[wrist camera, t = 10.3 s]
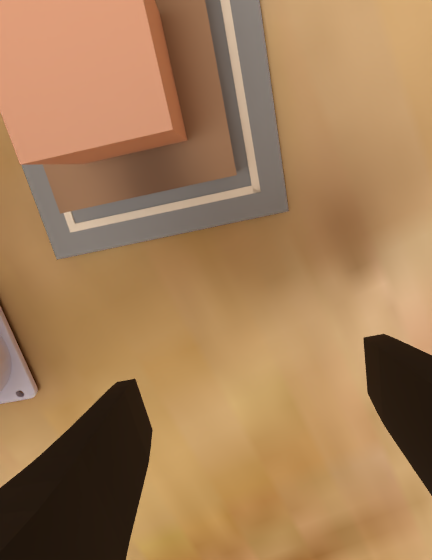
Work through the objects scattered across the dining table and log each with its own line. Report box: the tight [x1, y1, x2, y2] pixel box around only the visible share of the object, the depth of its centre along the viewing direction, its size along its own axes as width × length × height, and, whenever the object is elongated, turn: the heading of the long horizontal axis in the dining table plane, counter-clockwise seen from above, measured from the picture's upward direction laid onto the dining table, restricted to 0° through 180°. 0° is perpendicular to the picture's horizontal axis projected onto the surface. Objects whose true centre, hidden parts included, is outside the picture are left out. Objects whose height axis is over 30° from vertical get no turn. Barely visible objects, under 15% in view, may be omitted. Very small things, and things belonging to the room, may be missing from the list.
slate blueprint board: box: [22, 0, 289, 260], centre depth 17 cm, size 13×13×1 cm
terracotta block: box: [0, 0, 187, 165], centre depth 11 cm, size 4×4×5 cm
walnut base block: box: [43, 0, 237, 214], centre depth 15 cm, size 8×8×3 cm
